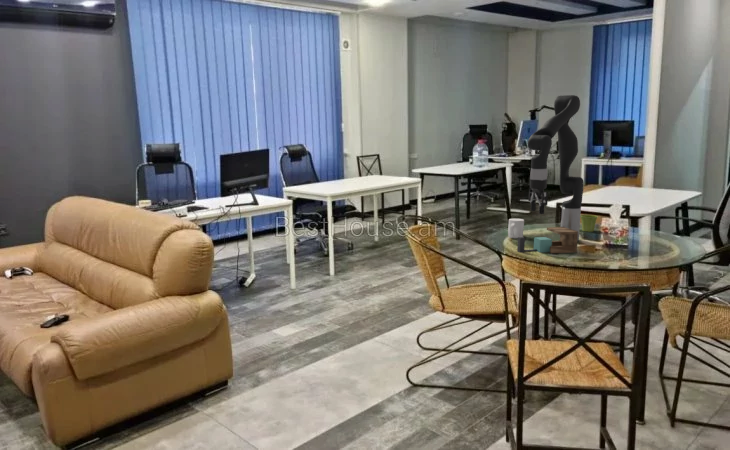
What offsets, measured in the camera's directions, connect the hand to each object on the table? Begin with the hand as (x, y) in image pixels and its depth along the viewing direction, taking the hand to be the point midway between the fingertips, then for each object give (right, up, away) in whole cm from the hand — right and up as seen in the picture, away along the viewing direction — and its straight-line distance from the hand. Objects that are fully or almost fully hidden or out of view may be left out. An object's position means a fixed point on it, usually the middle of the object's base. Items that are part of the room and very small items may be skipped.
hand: (537, 212), depth 264 cm
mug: (0, -13, +38) cm, 40 cm away
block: (-1, -19, +4) cm, 19 cm away
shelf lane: (+11, -18, +6) cm, 22 cm away
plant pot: (+45, -10, +54) cm, 71 cm away
